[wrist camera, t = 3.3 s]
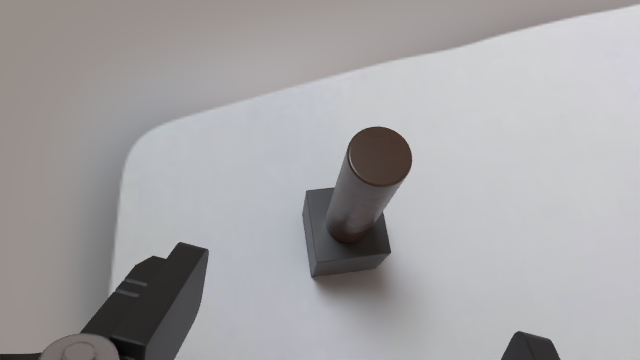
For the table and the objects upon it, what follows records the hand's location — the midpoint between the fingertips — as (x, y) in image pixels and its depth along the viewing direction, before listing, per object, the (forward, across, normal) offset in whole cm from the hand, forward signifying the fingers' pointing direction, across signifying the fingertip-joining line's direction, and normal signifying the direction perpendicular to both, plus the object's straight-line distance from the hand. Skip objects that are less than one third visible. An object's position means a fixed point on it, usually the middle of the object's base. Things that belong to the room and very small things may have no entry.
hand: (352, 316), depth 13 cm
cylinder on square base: (+14, 0, +6) cm, 15 cm away
